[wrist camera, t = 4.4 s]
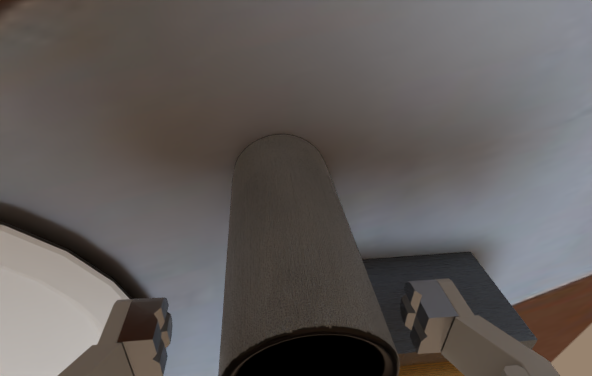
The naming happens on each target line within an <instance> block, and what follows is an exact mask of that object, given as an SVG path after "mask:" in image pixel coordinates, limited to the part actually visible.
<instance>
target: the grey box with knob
mask: <svg viewBox="0 0 592 376" xmlns="http://www.w3.org/2000/svg"><path fill="white" fill-rule="evenodd" d="M362 261H363V263H364V266H365V269H366V271H367V274H368V277H369V279H370V282H371V284H372V287H373V290H374V292H375V295H376V298H377V300H378V303H379V305H380V308H381V311H382V313H383V316H384V319H385V321H386V324H387V326H388V329H389V332H390V334H391V337H392V340H393V342H394V345H395V348H396V350H397V353H398V356H399V360H400V371H399V375H398V376H464V375H463V374H462V373H461V372H460V371H459V370H458V369H457V368H456V367H455V366H454V365H453V364H452V363H451V362H449V361H448V360H447V359H446V358H445V357H444V356H443V355H442V354H441V353H442V352H441V353H424V354H417V352H416V350H415V348H414V346H413V343H412V341H411V339H410V333H411V330H410V329H409V328H408V327H406V326H405V325H404V322H403V320H402V317H401V313H400V302H401V298H402V297H403V296H404V295H405V294H406V293H405V291H404V286H405V284H406V282H407V281H419V280H432V279H433V280H435V279H448V278H449V279H450V280H452V282H453V283H454V285H455V286H456V288H457V289H458V291H459V292H460V294H461V295H462V297H463V299H464V300H465V302H466V303H467V305H468V306H469V308H470V309H471V311H472V312H473V314H474V315H479V316H481V317H482V318H484V319H485V320H487V321H488V322H490V323H491V324H493V325H494V326H496V327H497V328H499V329H500V330H502V331H504V332H505V333H507V334H508V335H510V336H511V337H513V338H514V339H516V340H517V341H519V342H520V343H522V344H524V345H525V346H527V347H528V348H530V349H531V350H532V348H533V346H534V345H535V343H536V341H537V338H536V337H535V336H534V334H533V333H532V332H531V331H530V329H529V328H528V327H527V325H526V324H525V323H524V321H523V320H522V319H521V317H520V316H519V315H518V313H517V312H516V311H515V310H514V308H513V307H512V306H511V304H510V303H509V302H508V300H507V299H506V298H505V296H504V295H503V294H502V293H501V291H500V290H499V289H498V287H497V286H496V285H495V283H494V282H493V281H492V279H491V278H490V277H489V275H488V274H487V273H486V272H485V270H484V269H483V268H482V266H481V265H480V264H479V262H478V261H477V260H476V258H475V257H474V256H473V255H472V253H471V252H464V253H451V254H437V255H424V256H411V257H397V258H384V259H370V260H362Z"/></svg>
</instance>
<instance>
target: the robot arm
mask: <svg viewBox="0 0 592 376" xmlns="http://www.w3.org/2000/svg"><path fill="white" fill-rule="evenodd" d="M404 291H405V293H406V294H405V295H404V296H403V297H402V298H401V302H400V313H401V317H402V320H403V322H404V325H405V326H406V327H408V328H409V329H410V330H411V333H410V339H411V341H412V343H413V346H414V348H415V350H416V352H417V354H424V353H441V352H442V353H441V354H442V355H443V356H444V357H445V358H446V359H447V360H448V361H449V362H451V363H452V364H453V365H454V366H455V367H456V368H457V369H458V370H459V371H460V372H461V373H462V374H463V375H464V376H560V375H559V374H558V372H557V371H556V370H555V369H554V367H553V366H552V364H551V363H550V362H549V361H548V360H547V359H545V358H543V357H542V356H540V355H539V354H537V353H536V352H534V351H533V350H531V349H530V348H528V347H527V346H525V345H524V344H522V343H520V342H519V341H517V340H516V339H514V338H513V337H511V336H510V335H508V334H507V333H505V332H504V331H502V330H500V329H499V328H497V327H496V326H494V325H493V324H491V323H490V322H488V321H487V320H485V319H484V318H482V317H481V316H479V315H474V314H473V312H472V311H471V309H470V308H469V306H468V305H467V303H466V302H465V300H464V299H463V297H462V295H461V294H460V292H459V291H458V289H457V288H456V286H455V285H454V283H453V282H452V280H450V279H449V278H448V279H435V280H433V279H432V280H419V281H407V282H406V284H405V286H404ZM167 310H168V301H167V298H141V299H123V300H117V301H116V302H115V303H114V305H113V307H112V310H111V312H110V314H109V317H108V319H107V322H106V324H105V327H104V329H103V332H102V334H101V337H100V339H99V341H98V344H97V345H92V346H91V347H89V348H88V349H87V350H86V351H85V352H84V353H83V354H82V355H80V356H79V357H78V358H77V359H76V360H75V361H74V362H72V363H71V364H70V365H69V366H68V367H67V368H66V369H64V370H63V371H62V372H61V373H60V374H59V375H58V376H163V374H164V370H165V365H166V361H167V353H166V347H167V346H168V345H169V344H170V342H171V336H172V318H171V314H170V313H168V312H167Z"/></svg>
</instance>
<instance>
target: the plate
mask: <svg viewBox="0 0 592 376" xmlns="http://www.w3.org/2000/svg"><path fill="white" fill-rule="evenodd" d="M123 299H132V298H131V297H130V296H129V295H128V293H127V292H126V291H125V290H124V289H123V288H122V287H121V286H120V285H119V284H118V283H117V282H116V281H115V280H114V279H113V278H111V277H110V276H108V275H107V274H105V273H104V272H102V271H101V270H99V269H98V268H96V267H94V266H93V265H91V264H90V263H88V262H87V261H85V260H84V259H82V258H81V257H79V256H78V255H76V254H75V253H73V252H72V251H70V250H69V249H66V248H64V247H62V246H59V245H57V244H55V243H52V242H50V241H47V240H45V239H43V238H40V237H38V236H36V235H33V234H31V233H28V232H26V231H24V230H21V229H19V228H17V227H14V226H12V225H10V224H7V223H3V222H0V376H58V375H59V374H60V373H61V372H62V371H63V370H64V369H66V368H67V367H68V366H69V365H70V364H71V363H72V362H74V361H75V360H76V359H77V358H78V357H79V356H80V355H82V354H83V353H84V352H85V351H86V350H87V349H88V348H89V347H91V346H92V345H97V344H98V341H99V339H100V337H101V334H102V332H103V329H104V327H105V324H106V322H107V319H108V317H109V314H110V312H111V310H112V307H113V305H114V303H115V302H116V301H117V300H123Z"/></svg>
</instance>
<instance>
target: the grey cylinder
mask: <svg viewBox="0 0 592 376" xmlns="http://www.w3.org/2000/svg"><path fill="white" fill-rule="evenodd" d="M399 371H400V360H399V356H398V353H397V350H396V348H395V345H394V342H393V340H392V337H391V334H390V332H389V329H388V326H387V324H386V321H385V319H384V316H383V313H382V311H381V308H380V305H379V303H378V300H377V298H376V295H375V292H374V290H373V287H372V284H371V282H370V279H369V277H368V274H367V271H366V269H365V266H364V263H363V261H362V258H361V256H360V253H359V250H358V248H357V245H356V242H355V240H354V237H353V235H352V232H351V229H350V227H349V224H348V221H347V219H346V216H345V214H344V211H343V208H342V206H341V203H340V200H339V198H338V195H337V193H336V190H335V187H334V185H333V182H332V179H331V177H330V174H329V172H328V169H327V166H326V164H325V162H324V160H323V158H322V156H321V154H320V153H319V151H318V150H317V149H316V148H315V147H314V146H313V145H312V144H310V143H309V142H307V141H306V140H304V139H302V138H299V137H296V136H292V135H283V134H282V135H271V136H267V137H264V138H261V139H259V140H257V141H255V142H253V143H252V144H251V145H249V146H248V147H247V148H246V149H245V150H244V151H243V152H242V153H241V155H240V156H239V158H238V160H237V162H236V164H235V168H234V173H233V179H232V192H231V206H230V220H229V234H228V248H227V262H226V276H225V290H224V304H223V318H222V332H221V346H220V360H219V375H218V376H398V375H399Z"/></svg>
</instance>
